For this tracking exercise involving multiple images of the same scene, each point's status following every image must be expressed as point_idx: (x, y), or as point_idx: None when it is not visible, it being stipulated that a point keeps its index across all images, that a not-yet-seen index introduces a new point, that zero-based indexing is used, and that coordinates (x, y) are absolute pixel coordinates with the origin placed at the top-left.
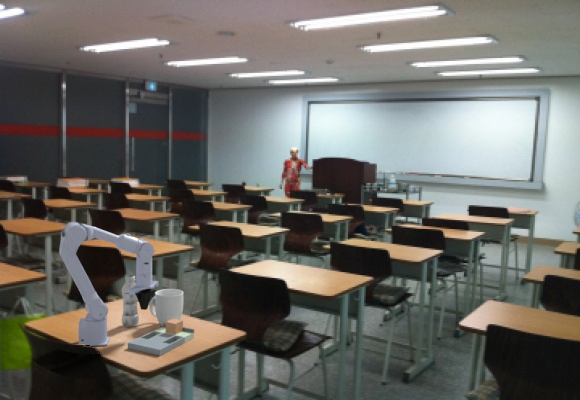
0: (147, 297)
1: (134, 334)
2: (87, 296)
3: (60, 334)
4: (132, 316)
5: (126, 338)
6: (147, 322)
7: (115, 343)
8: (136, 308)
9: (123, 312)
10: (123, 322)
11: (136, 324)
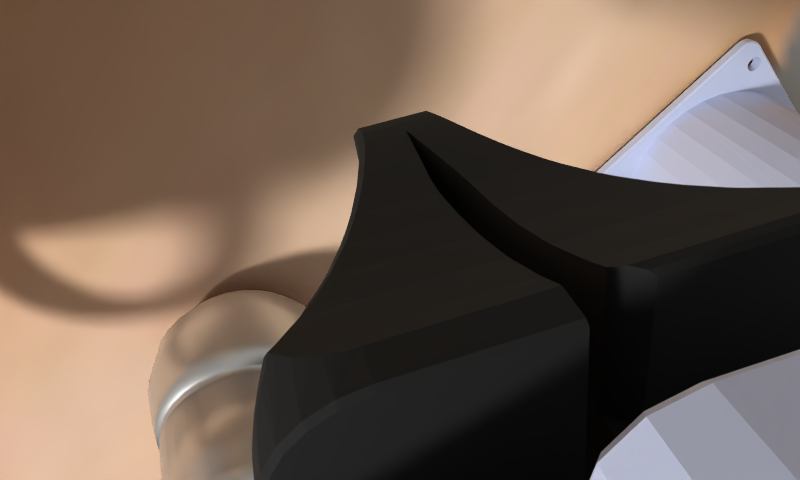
0: (539, 215)
1: (373, 109)
2: None
3: None
4: None
5: (505, 66)
6: (31, 326)
7: (661, 25)
8: (212, 448)
9: None
10: None
11: (211, 298)
